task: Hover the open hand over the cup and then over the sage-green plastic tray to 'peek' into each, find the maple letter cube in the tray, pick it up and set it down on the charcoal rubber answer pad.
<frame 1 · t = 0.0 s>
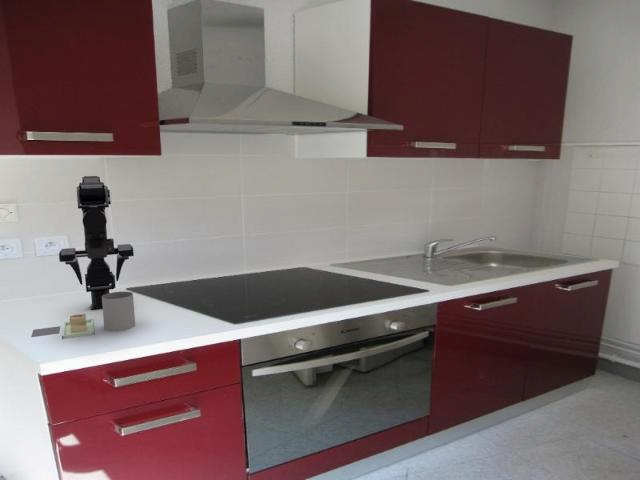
hand: (99, 282, 141), 15 cm above the worktop, fingers open, 9 cm apart
cup: (120, 328, 147), on the worktop
tray: (78, 331, 145), on the worktop
answer pad: (46, 332, 143), on the worktop
letter cube: (78, 329, 145), resting on tray
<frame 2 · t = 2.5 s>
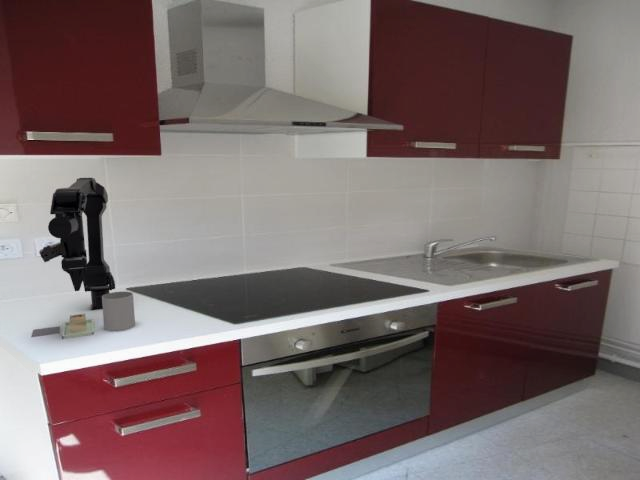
hand: (77, 287, 143), 13 cm above the worktop, fingers open, 9 cm apart
nothing on the worktop moved.
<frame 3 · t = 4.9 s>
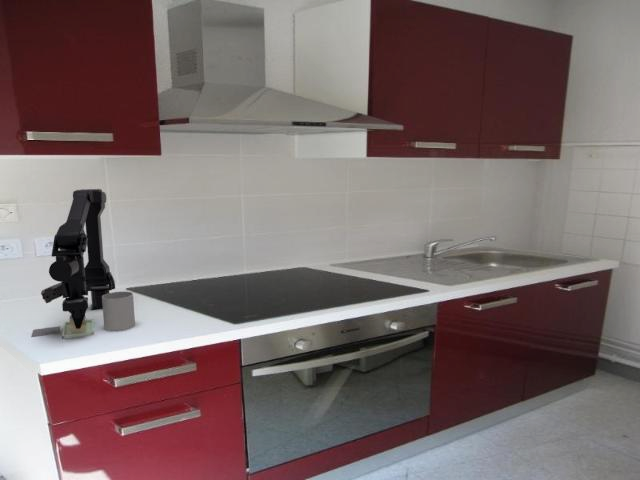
hand: (78, 326, 144), 1 cm above the worktop, fingers closed on letter cube, 4 cm apart
letter cube: (78, 329, 145), resting on tray, touching gripper
everything else where it was.
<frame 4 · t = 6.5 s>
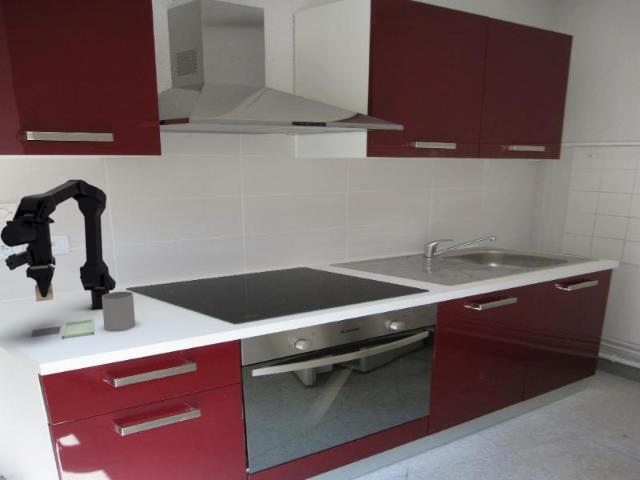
hand: (44, 295, 142), 11 cm above the worktop, fingers closed on letter cube, 4 cm apart
letter cube: (44, 298, 142), point 10 cm above the worktop, touching gripper
everything else where it was.
when the fingers open (3 cm above the worktop, at t = 8.0 s): letter cube drops 2 cm, resting on answer pad.
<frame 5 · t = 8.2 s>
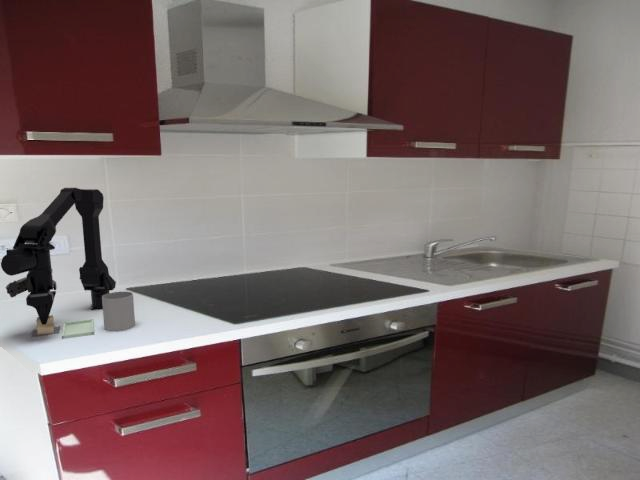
hand: (45, 321, 143), 3 cm above the worktop, fingers open, 6 cm apart
letter cube: (46, 331, 143), resting on answer pad
everything else where it was.
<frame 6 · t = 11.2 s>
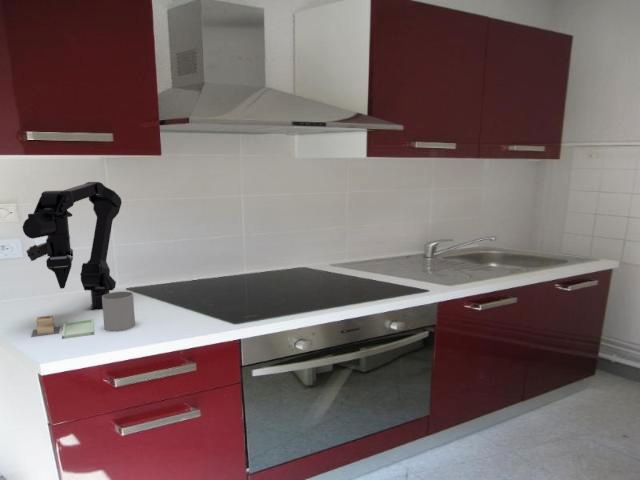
hand: (63, 284, 150), 12 cm above the worktop, fingers open, 9 cm apart
nothing on the worktop moved.
at the end: letter cube inside the target area on the answer pad (0.0 cm from its centre), point 0.4 cm above the answer pad's base; letter cube tilted 0°; the gripper is holding nothing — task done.
